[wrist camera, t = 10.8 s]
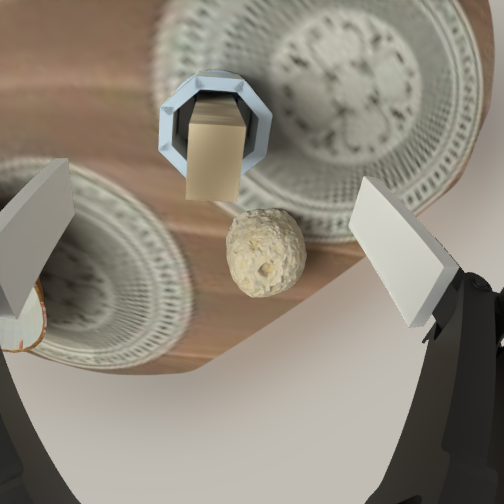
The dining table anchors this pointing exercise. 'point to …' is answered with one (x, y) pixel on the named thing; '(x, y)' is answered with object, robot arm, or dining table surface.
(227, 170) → the tan bar
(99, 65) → the dining table surface
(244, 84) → the jar
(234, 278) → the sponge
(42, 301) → the bowl
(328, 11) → the dining table surface
